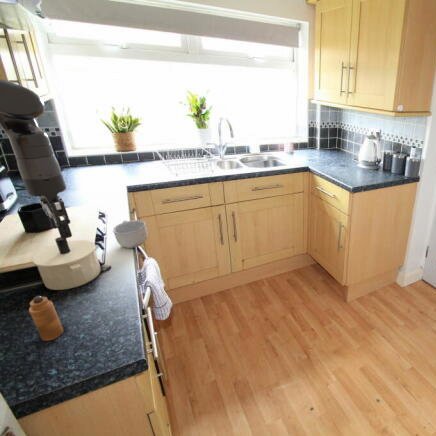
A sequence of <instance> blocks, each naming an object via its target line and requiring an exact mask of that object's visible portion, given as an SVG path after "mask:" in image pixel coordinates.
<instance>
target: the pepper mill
mask: <svg viewBox="0 0 436 436" xmlns="http://www.w3.org/2000/svg"><path fill="white" fill-rule="evenodd" d="M28 312H29V314H30V316H31V318H32V321H33V323H34V325H35V328H36V330H37V332H38V334H39V336H40V339H41V340H42V341H43V342H49V341H52V340H55V339H57V338H59V337H60V336H62V335H63V333H64V331H65V330H64V327H63V325H62V322H61V320H60V317H59V315H58V313H57V310H56V308H55V306H54V303H53V301H52V300H49V299H48V297H47V296H41V295H37V296H35V297H33V299H32V300H31V301H30V302H29V309H28Z"/></svg>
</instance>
